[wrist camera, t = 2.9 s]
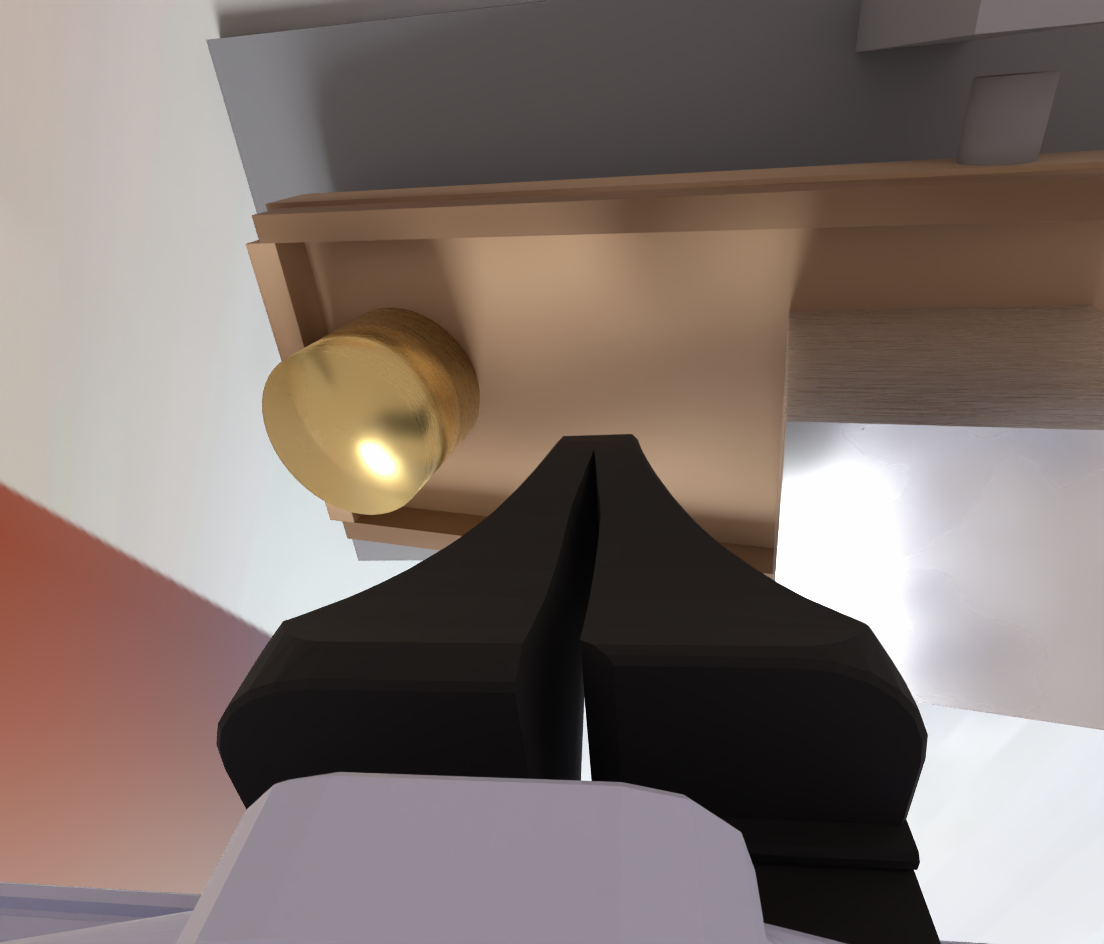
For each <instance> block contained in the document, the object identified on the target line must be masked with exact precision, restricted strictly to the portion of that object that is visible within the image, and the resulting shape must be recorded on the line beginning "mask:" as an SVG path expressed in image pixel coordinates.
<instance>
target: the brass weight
mask: <svg viewBox="0 0 1104 944" xmlns="http://www.w3.org/2000/svg"><path fill="white" fill-rule="evenodd" d="M479 408H480V391H479V385H478V380H477V376H476V373H475V371H474V368H473V366H472V364H471V362H470V359H469V358H468V356H467V354H466V353H465V351H464V350H463V348H462V347H461V346H460V344H459V343H458V342H457V340H456V339H455V338H454V337H453V336H452V335H451V334H450V333H449V332H448V331H446V330H445V329H444V328H443V327H442V326H440V325H439V324H438V323H436V322H435V321H433V320H432V319H430V318H428V317H426V316H424V315H422V314H419V313H417V312H414V311H411V310H407V309H402V308H381V309H376V310H373V311H370V312H368V313H365V314H364V315H362V316H360V317H358V318H356V319H355V320H353V321H351V322H349V323H348V324H346V325H344V326H342V327H341V328H339V329H337V330H335V331H334V332H332V333H330V334H328V335H327V336H325V337H323V338H321V339H320V340H318V341H316V342H314V343H312V344H311V345H309V346H307V347H305V348H304V349H302V350H300V351H298V352H297V353H295V354H293V355H291V356H290V357H288V358H286V359H285V360H283V361H282V362H280V363H279V364H278V365H277V366H276V367H275V368H274V370H273V371H272V372H271V374H270V375H269V377H268V379H267V381H266V384H265V387H264V391H263V398H262V413H263V419H264V424H265V427H266V431H267V434H268V437H269V439H270V442H271V444H272V446H273V448H274V450H275V452H276V453H277V455H278V456H279V458H280V460H281V461H282V463H283V464H284V465H285V467H286V468H287V469H288V470H289V472H290V473H291V474H292V475H293V476H294V477H295V478H296V479H297V480H298V481H299V482H300V483H301V484H302V485H303V486H304V487H305V488H307V489H308V490H309V491H310V492H312V493H313V494H314V495H316V496H317V497H319V498H320V499H322V500H324V501H325V502H327V503H329V504H331V505H333V506H335V507H338V508H340V509H343V510H346V511H349V512H353V513H358V514H366V515H377V514H384V513H389V512H392V511H394V510H397V509H399V508H401V507H402V506H404V505H405V504H406V503H408V502H409V501H410V500H411V499H412V498H413V497H414V496H415V495H416V493H417V492H418V491H419V490H420V489H421V488H422V487H423V486H424V484H425V483H426V482H427V481H428V480H429V479H430V478H431V477H432V475H433V474H434V473H435V472H436V471H437V470H438V469H439V468H440V466H441V465H442V464H443V463H444V462H445V461H446V460H447V459H448V457H449V456H450V455H451V454H452V453H453V452H454V451H455V450H456V449H457V447H458V446H459V445H460V444H461V443H462V442H463V441H464V440H465V438H466V437H467V436H468V435H469V433H470V432H471V431H472V429H473V427H474V425H475V423H476V420H477V417H478V413H479Z"/></svg>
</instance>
